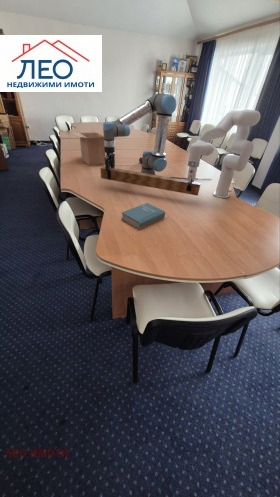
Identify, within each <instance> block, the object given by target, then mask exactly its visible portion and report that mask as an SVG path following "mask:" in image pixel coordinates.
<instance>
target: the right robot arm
mask: <svg viewBox="0 0 280 497" xmlns="http://www.w3.org/2000/svg"><path fill="white" fill-rule="evenodd" d="M260 120H261V113H260V111H258V110H255V109H247V108H240V109H230V110H229V111H228V112H227V113H226V114H225V115H224V116H223V117H222V119H221V120H219V122H218V123H217V124H216V125H215V126H214V127H212V128H210V129H208V130H206V131H205V132H203V133H202V134H201V135H200V136H199V137H198V138H197V140H195V142H193V143H191V145H190V149H189V154H188V160H187V167H188V171H187V176H186V178H187V179H186V180H187V181H188V184H187V188H186V191H191V187H192V186H191V184H192V182H196V181H195V180H196V179H195V178H196V177H197V171H198V168H199V167H200V162H201V156H205V157H207V156H211V155H213V153H214V151H215V146H214V145H213V144H212V143H210V141H212V140H216V139H220V138H223V137H225V136H226V135H227V134H228V132H230V130H232V128H233V127H234V126H236V132H235V135H234V136H233V139H232V142H231V145H230V151H231V152H232V153H228V154H226V155H224V156H223V159H222V163H221V164H222V165H221V170H220V175H219V179H218V182H217V186H216V189H215V190H214V191H213V192H212V193H213V196H214V197H216V198H220V199H228V198H229V197H230V194H229V193H232V189H230V187H231V185H232V181H233V178H234V175H235V172H242V171H244V170H245V168H246V166H247V164H248V162H249V160H250V157H251V155H252V153H253V151H254V143H253V142H252V141H251V140H248V138H249V135H250V127H254V126H256V125H257V124H258V123H259V122H260ZM234 153H235V154H234ZM234 171H235V172H234ZM190 182H191V183H190Z"/></svg>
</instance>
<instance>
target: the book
mask: <svg viewBox="0 0 280 497" xmlns="http://www.w3.org/2000/svg"><path fill="white" fill-rule="evenodd" d="M121 215H122V216H121V220H122V222H125V223H126V224H128V225H129V226H132V227H134V228H135V229H137V230H141V229H143V228H145V227H147V226H149V225H151V224H153V223H156V222H158V221H160V220H162V219H164V218H165V217H166V212H165V210H163V209H161V208H159V207H157V206H155V205H153V204H151V203H148V202H146V203H143V204H140V205H138V206H137V205H136V206H134V207H132V208H129V209H127V210H124V211H122V212H121Z"/></svg>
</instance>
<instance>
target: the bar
mask: <svg viewBox="0 0 280 497" xmlns="http://www.w3.org/2000/svg"><path fill="white" fill-rule="evenodd" d="M110 171H111V180H110V179H107V171H106V170H105V165H104V166H102V167H100V179H103V180H109V181H113V182H119V183H123V184H124V183H125V184H130V185H136V186H142V187H147V188H153V189H159V190H165V191H170V192H176V193H181V194H186V195H192V196H199V193H200V188H201V185H202V182H199V181H194V182H192V184H191V186H192V187H191V191H186V188H187V184H188V181H187V179H179V178H170V177H171V176H163V175H158V174H156V175H152V174H146V173H140V172H141V171H133V170H127V169H121V168H116V167H115V168H111V167H110ZM190 183H191V182H190Z"/></svg>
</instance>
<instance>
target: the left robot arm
mask: <svg viewBox="0 0 280 497" xmlns="http://www.w3.org/2000/svg"><path fill="white" fill-rule="evenodd" d="M176 110H177V99H176V98H175V96H174V95H172V94H170V93H161V92H160V93H159V92H158V93H155V94H154V95H152V96H150V97H148V98H147V99H146V100H144V101H143V103H141V104H140V105H138V106H137V107H135V108H134V109H132V110H130V111H129V112H127V113H126V114H124V115H123V116H121V117H120V118H117V119H116V120H113V121H111V120H110V121H104V122H103V124H102V132H103V133H104V146H105V147H104V151H105V164H104V167H105V170H106V171H107V179H106V180H108V179H110V180H109V181H112V180H111V171H110V168H116V160H115V158H116V157H115V156H116V154H115V152H116V151H115V150H116V148H115V144H116V142H115V138H121V137H123V138H126V137H129V136H130V135H131V127H130V125H132V124H133V123H135V122H137V121H138V120H140V119H142V118H143V117H145V116H147V115H148V114H150V115H151V114H153V113H154V112H156V117H157V123H156V124H157V125H156V131H155V138H154V147H153V150H144V151H143V152H142V157H143V158H142V157H141V158H142V163H141V169H140V171H139V172H140V173H146V174H152V175H157V174H156V172H159V173H161V172H163V170H165V169H166V168H167V164H168V160H167V159H166V153H165V150H166V143H167V137H168V128H169V124H170V119H171V118H172V117H173V114H174V112H175V111H176ZM169 177H170V178H176V179H182V180H187V177H175V176H169ZM195 180H197V178H196V177H195Z"/></svg>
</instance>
